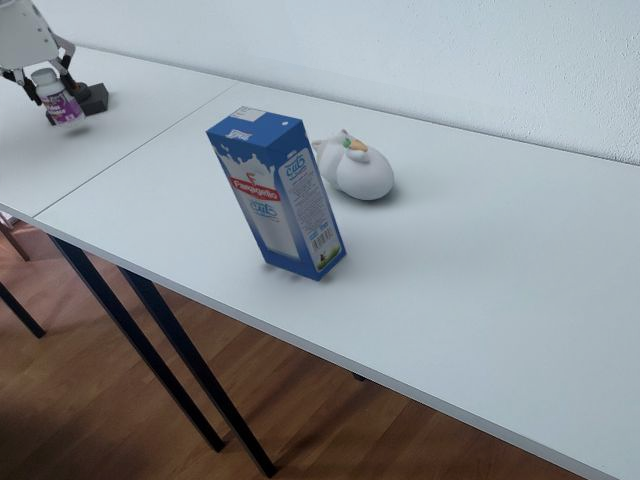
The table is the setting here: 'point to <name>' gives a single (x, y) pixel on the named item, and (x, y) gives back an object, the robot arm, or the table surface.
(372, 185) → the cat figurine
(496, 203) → the table surface
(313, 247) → the milk carton
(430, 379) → the table surface
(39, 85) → the pill bottle
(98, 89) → the black button base
